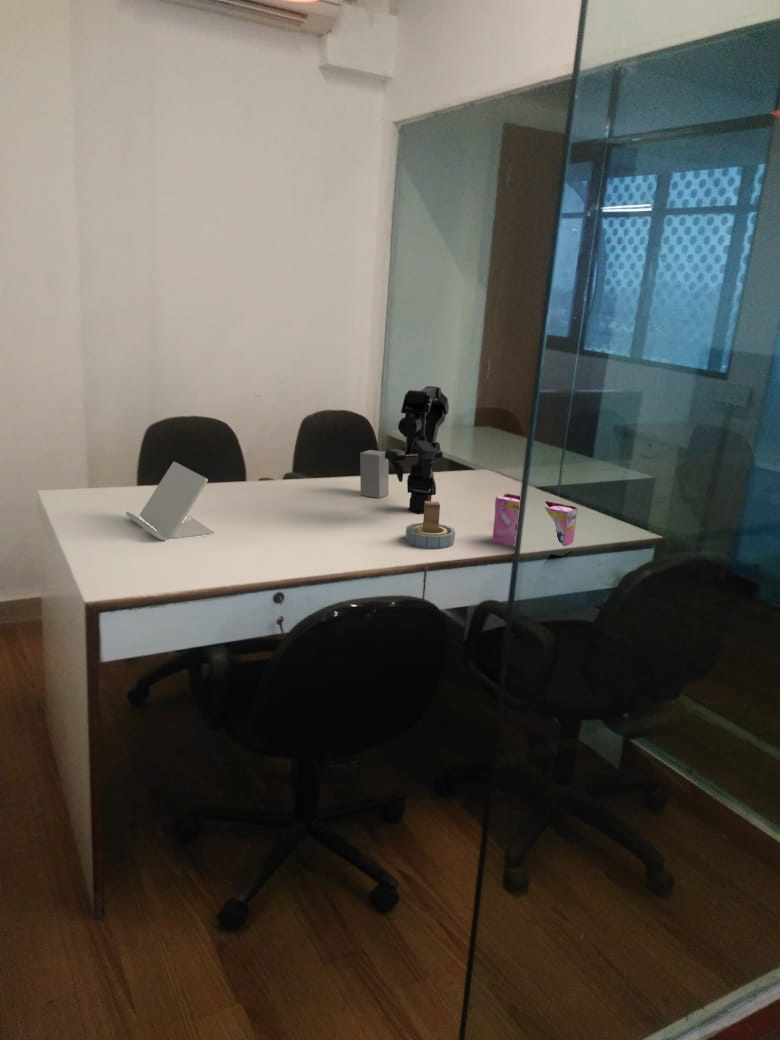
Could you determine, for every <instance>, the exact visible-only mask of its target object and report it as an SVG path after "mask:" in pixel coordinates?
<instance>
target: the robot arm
mask: <svg viewBox="0 0 780 1040" xmlns="http://www.w3.org/2000/svg"><path fill="white" fill-rule="evenodd" d="M448 399H449V398H448V397H447V396H446V395H445V394H444V393H443V392H442V389H441V387H438V386H432V385H427V386H425V387H424V388H422V389H420V390H413V389H409V390H408V391H407V392H406V393H405V395H404V398H403V403H402V407H401V410H400V414H404V417H402V418H401V419H400V420H399V422H398V427H397V429H398V430H399V432H400V434H402V435H403V437H404V438H405V446H403V447H402V450H401V449H398V448H390V449H389V448H388V449H387V450H385V451H384V452H385V458H386V459H388V462H391V463H390V464H391V466H392V467H393V469H394V471H395V474H396V477H397V479H398V482H400V483H402V482H403V477H404V466H405V465H406V463H407V462H406V461H405V460H406V458H413V457H417V462H416V463H415V464H412V465H411V467H410V472H409V474H408V476H407V480H406V485H407V487H406V488H407V494H408V493H409V494H410V498H409V507H407V510H408V511H411V512H413V513H415V514H417V515H418V514H419V515H420V514H424V505H425V501H432V497H433V496H435V495H437V485H436V481H435V477H434V476H435V474H434V472H433V470H432V466H433V464H435V463H436V462H437V461H439V460H440V459H443V458H444V456H443V454H444V452H443V450H442V448H441V443H439V442H438V441H437V436H438V432H439V429H440V428H439V427H440V426H441V425H442V424H443V423H444V422H445V421H446V417H447V415H448V414H449V409H450V408H449V407H450V406H449V400H448Z"/></svg>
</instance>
